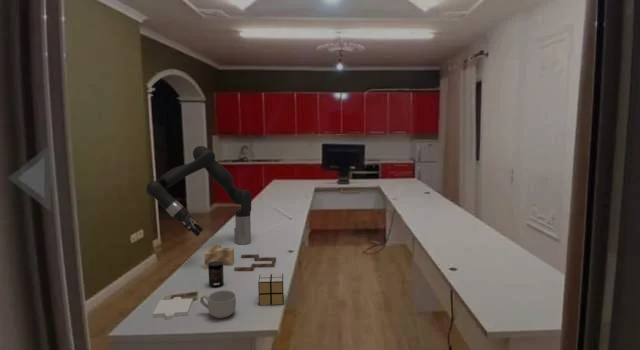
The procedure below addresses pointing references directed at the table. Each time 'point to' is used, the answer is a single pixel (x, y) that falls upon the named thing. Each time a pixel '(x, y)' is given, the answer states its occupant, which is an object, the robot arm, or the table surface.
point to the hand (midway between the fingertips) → (200, 232)
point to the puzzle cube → (271, 289)
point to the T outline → (256, 258)
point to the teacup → (220, 303)
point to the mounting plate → (173, 308)
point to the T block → (219, 255)
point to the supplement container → (216, 274)
